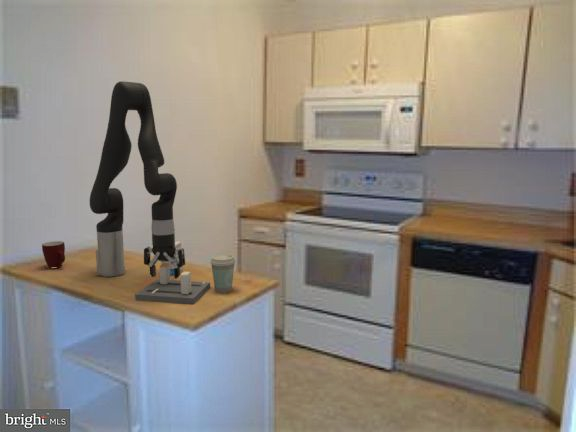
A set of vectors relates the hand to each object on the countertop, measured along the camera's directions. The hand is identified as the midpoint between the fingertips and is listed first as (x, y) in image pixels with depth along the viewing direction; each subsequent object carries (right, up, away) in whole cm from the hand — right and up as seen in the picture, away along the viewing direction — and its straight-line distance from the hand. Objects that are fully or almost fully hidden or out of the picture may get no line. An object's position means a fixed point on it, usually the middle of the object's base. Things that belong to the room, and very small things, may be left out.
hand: (165, 277), depth 155 cm
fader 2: (+10, -4, -9) cm, 14 cm away
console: (+4, -5, -4) cm, 8 cm away
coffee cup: (+20, -5, 0) cm, 21 cm away
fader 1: (0, -2, 0) cm, 2 cm away
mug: (-51, 0, +25) cm, 56 cm away
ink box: (-3, -1, +20) cm, 20 cm away
